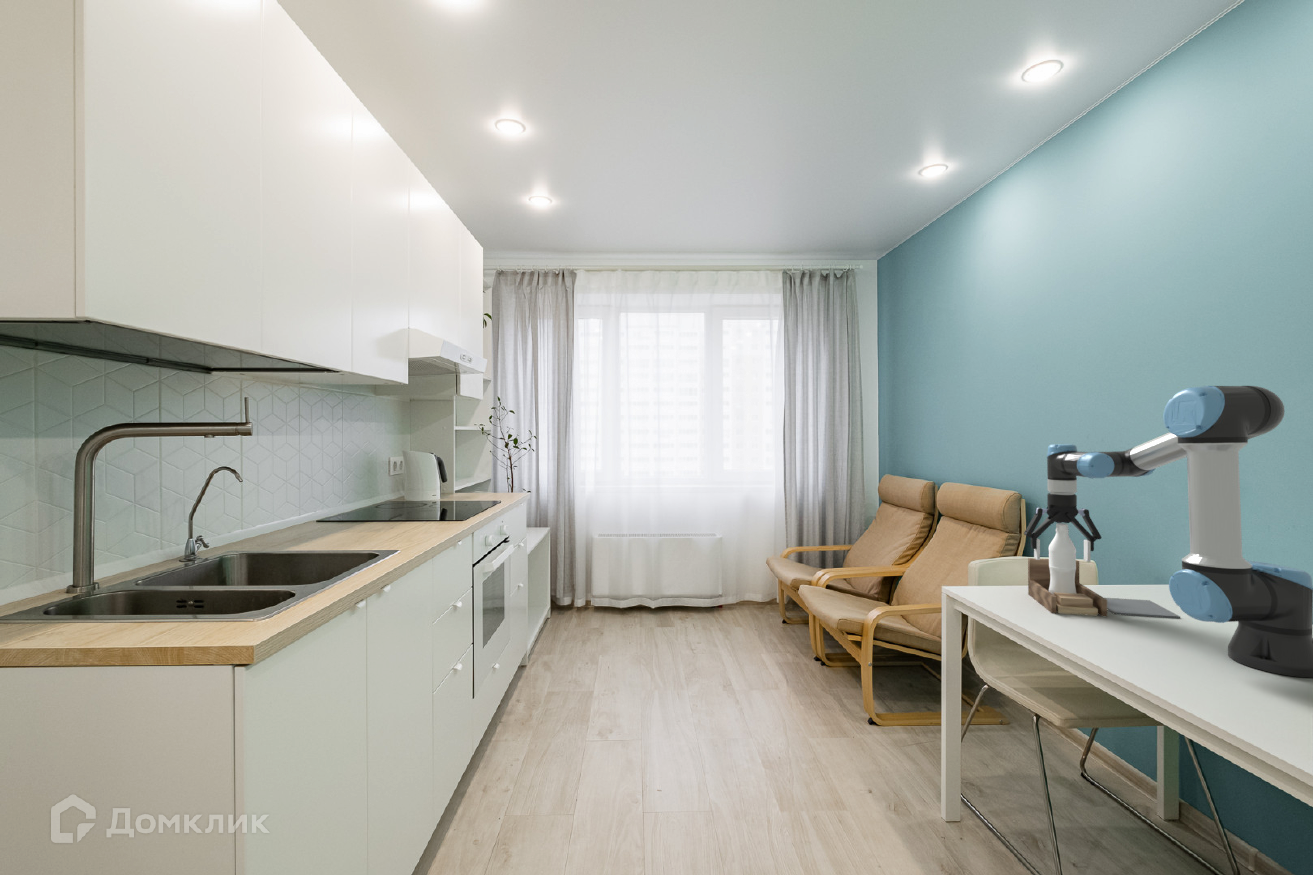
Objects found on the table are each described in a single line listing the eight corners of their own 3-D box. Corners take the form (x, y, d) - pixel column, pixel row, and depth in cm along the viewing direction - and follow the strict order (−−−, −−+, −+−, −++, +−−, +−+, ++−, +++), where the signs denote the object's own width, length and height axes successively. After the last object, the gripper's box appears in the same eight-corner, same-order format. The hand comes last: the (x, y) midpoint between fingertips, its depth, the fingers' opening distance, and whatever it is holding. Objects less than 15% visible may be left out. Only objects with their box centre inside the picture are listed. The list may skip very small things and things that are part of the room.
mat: (1180, 618, 162) (1180, 616, 162) (1114, 614, 167) (1114, 612, 167) (1149, 602, 178) (1149, 600, 178) (1089, 598, 182) (1089, 596, 182)
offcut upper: (1092, 608, 167) (1092, 599, 167) (1061, 606, 169) (1060, 597, 169) (1084, 602, 173) (1084, 594, 173) (1053, 600, 175) (1053, 592, 175)
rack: (1107, 616, 165) (1106, 575, 165) (1051, 612, 169) (1051, 573, 169) (1077, 596, 184) (1077, 560, 184) (1028, 594, 188) (1028, 558, 188)
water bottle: (1082, 606, 175) (1082, 525, 174) (1058, 606, 175) (1058, 525, 175) (1066, 599, 182) (1065, 521, 182) (1043, 599, 182) (1043, 522, 182)
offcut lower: (1097, 617, 166) (1097, 608, 166) (1058, 614, 169) (1058, 606, 169) (1087, 610, 173) (1087, 601, 173) (1049, 607, 176) (1049, 599, 176)
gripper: (1103, 492, 178) (1102, 559, 179) (1013, 490, 185) (1013, 555, 186) (1114, 495, 171) (1114, 565, 171) (1020, 493, 178) (1020, 560, 178)
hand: (1061, 560), depth 178 cm, fingers open, 13 cm apart
